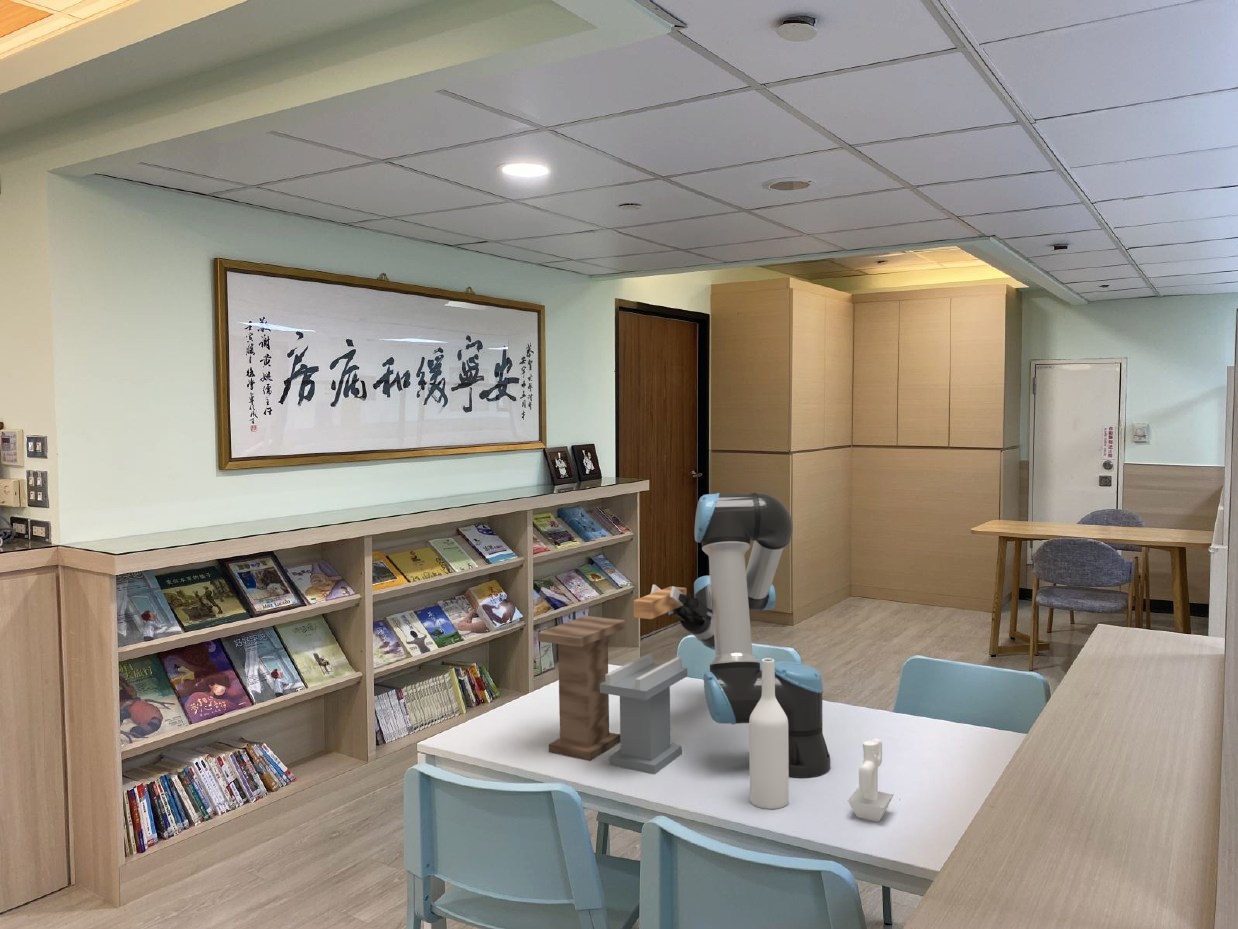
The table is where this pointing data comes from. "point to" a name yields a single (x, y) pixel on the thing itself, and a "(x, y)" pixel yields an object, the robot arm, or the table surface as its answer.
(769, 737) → the bottle
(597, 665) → the tall stand
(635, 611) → the wooden grain block
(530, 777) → the table surface
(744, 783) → the table surface
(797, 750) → the robot arm
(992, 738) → the table surface
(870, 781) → the figurine
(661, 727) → the cradle
